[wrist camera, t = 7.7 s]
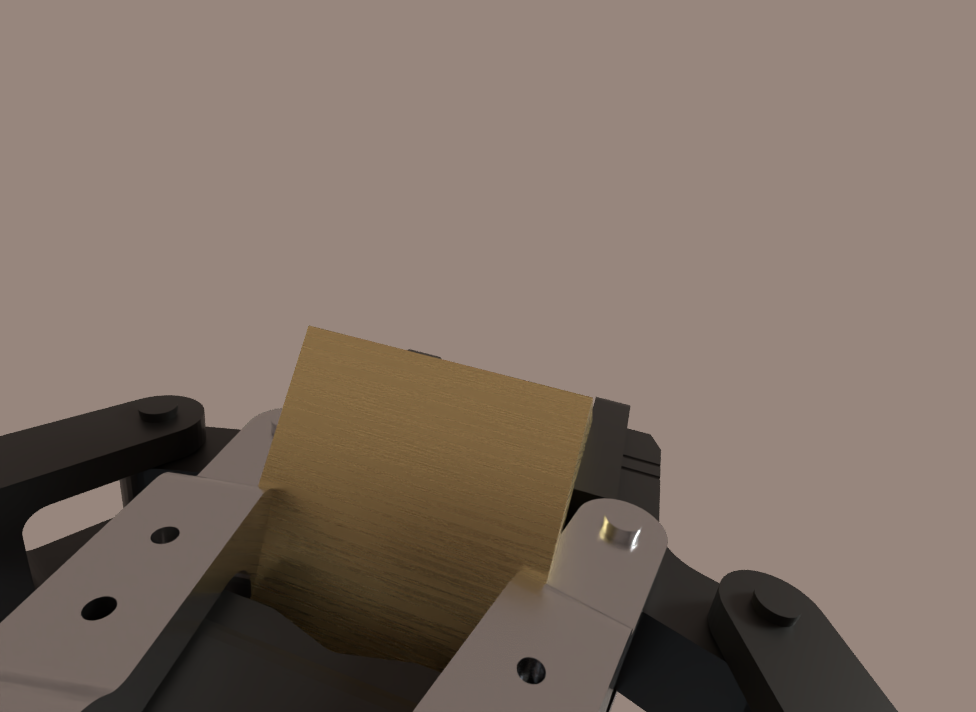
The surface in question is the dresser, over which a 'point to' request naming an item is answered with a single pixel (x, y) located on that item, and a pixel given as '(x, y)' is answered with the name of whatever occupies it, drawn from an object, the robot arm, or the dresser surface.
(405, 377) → the rail
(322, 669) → the robot arm
